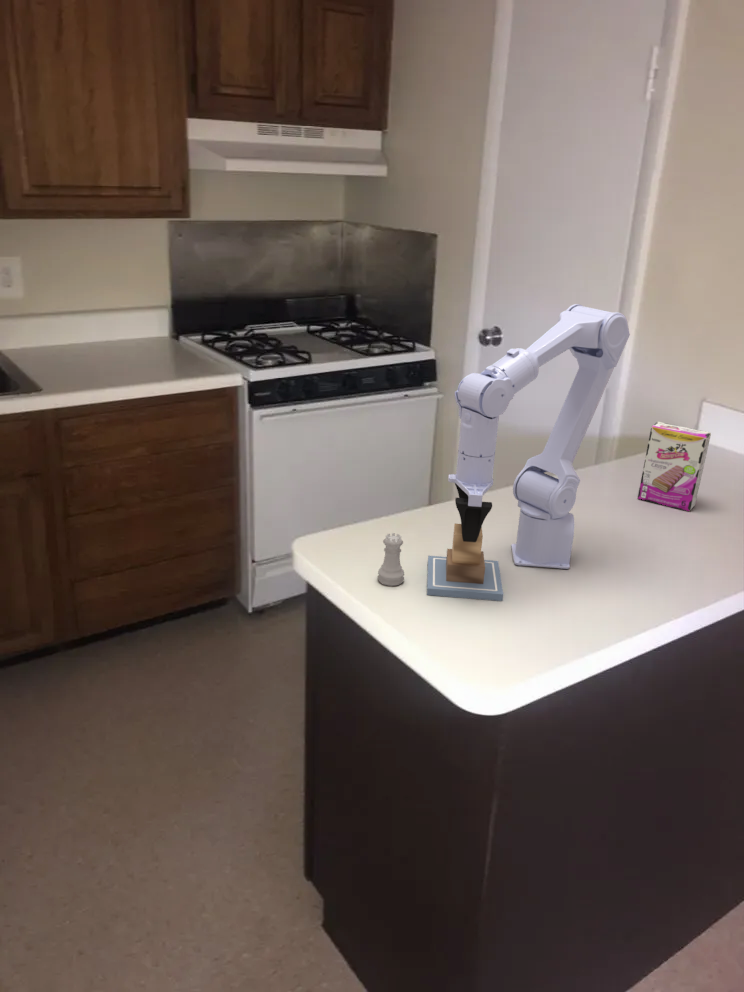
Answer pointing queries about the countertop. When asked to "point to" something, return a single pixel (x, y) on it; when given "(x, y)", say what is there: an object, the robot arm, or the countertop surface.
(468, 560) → the oak block
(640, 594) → the countertop surface
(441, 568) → the board
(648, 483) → the candy bar box
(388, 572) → the rook chess piece
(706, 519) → the countertop surface
